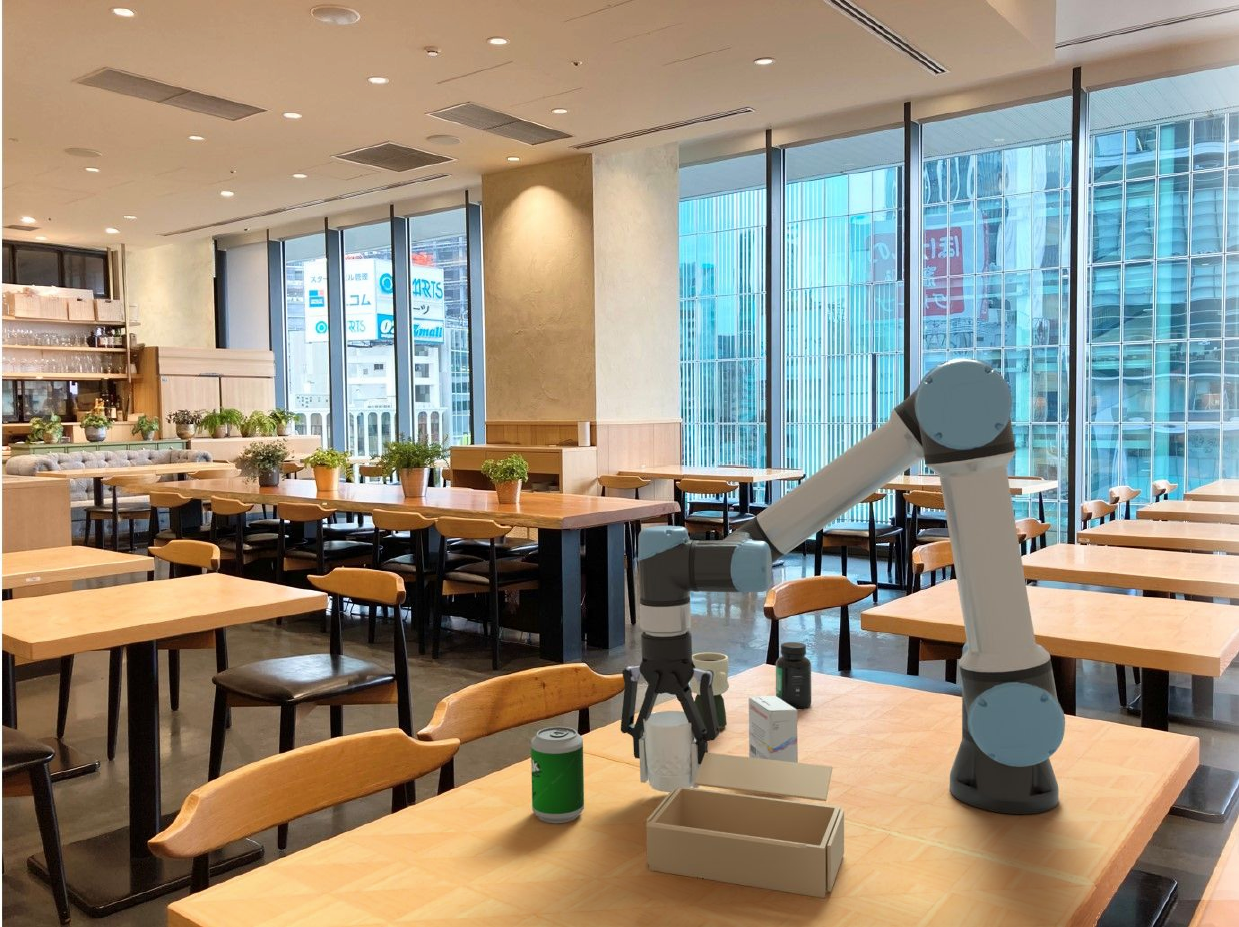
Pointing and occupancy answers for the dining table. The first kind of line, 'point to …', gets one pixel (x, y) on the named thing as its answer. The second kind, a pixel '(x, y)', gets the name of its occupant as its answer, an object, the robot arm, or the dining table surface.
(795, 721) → the ink box
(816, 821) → the carton
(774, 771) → the flap far
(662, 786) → the white cup
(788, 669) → the supplement bottle
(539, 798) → the soda can
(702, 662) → the character mug
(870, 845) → the dining table surface
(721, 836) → the flap near
